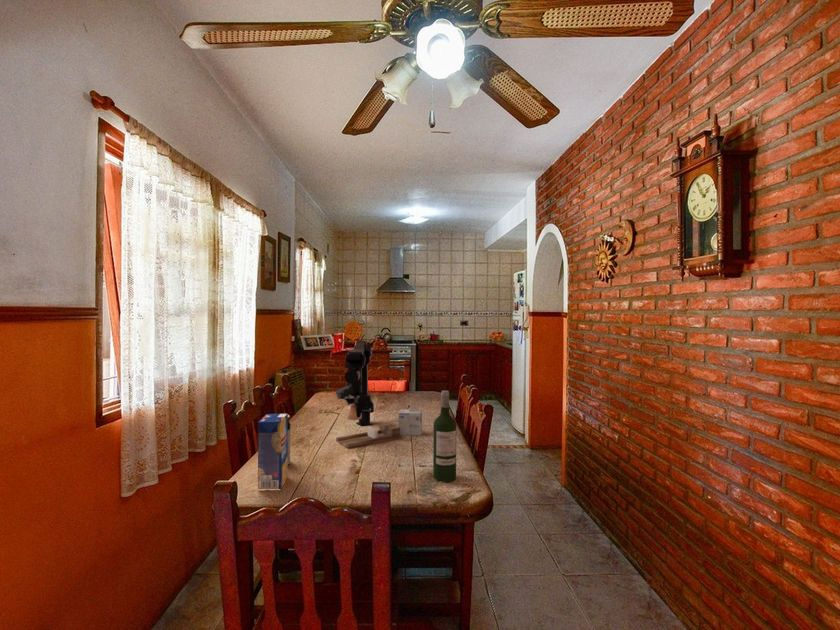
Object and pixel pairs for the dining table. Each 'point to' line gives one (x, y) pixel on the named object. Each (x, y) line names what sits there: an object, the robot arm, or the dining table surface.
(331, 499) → the dining table surface
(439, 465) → the wine bottle
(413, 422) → the white carton
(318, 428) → the dining table surface
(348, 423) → the dining table surface
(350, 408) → the jar
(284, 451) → the beverage box
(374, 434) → the bar
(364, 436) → the lane
